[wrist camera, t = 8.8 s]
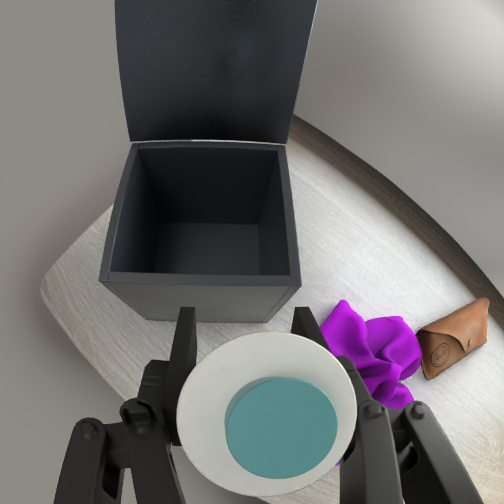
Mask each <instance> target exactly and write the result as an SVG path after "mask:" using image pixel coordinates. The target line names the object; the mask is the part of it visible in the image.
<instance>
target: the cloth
mask: <svg viewBox="0 0 504 504" xmlns="http://www.w3.org/2000/svg"><path fill="white" fill-rule="evenodd" d="M320 330H321V332H322V334H323V336H324V338H325V340H326V342H327V344H328V346H329V348H330V350H331V352H332V354H333V356H341V355H345V356H347V357H348V358H349V359H350V360H351V361H353V363H354V365H355V367H356V369H357V371H358V372H359V374H360V377H361V378H362V379H363V381H364V383H365V385H366V387H367V389H368V390H369V392H370V394H371V396H372V398H373V399H374V400H377V401H379V402H381V403H383V404H384V405H385V406H386V408H403V409H404V408H405V407H406V405H407V404H408V403H409V402H411V401H414V399H413V397H412V395H411V393H410V391H409V390H408V388H407V387H406V386H405V385H404V384H401V383H399V382H398V380H401V379H406V378H408V377H409V376H411V375H412V374H413V373H415V371H416V370H417V369H418V367H419V366H420V361H421V356H422V352H421V347H420V345H419V342H418V340H417V338H416V336H415V334H414V332H413V331H412V329H411V328H410V327H409V326H408V325H407V324H406V323H405V322H404V321H403V318H402V317H400V316H391V317H382V318H375V319H371V320H368V321H366V322H364V320H363V319H362V317H361V316H360V315H358V314H357V313H356V312H354V311H353V310H352V308H351V307H350V306H349V303H348V302H347V301H345V300H341V301H340V302H339V303H338V305H337V306H336V308H335V309H334V311H333V312H332V313H331V315H330V316H329V317H328V318H327V319H326V321H325V322H324V324H323V325H322V326H321V327H320ZM339 463H340V461H338V462H337V464H336V465H338V464H339ZM336 465H335V466H336Z"/></svg>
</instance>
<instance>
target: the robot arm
mask: <svg viewBox="0 0 504 504" xmlns="http://www.w3.org/2000/svg"><path fill="white" fill-rule="evenodd" d="M291 333H292V334H295V335H299V336H302V337H305V338H307V339H309V340H312V341H314V342H315V343H317V344H319V345H321V346H322V347H324V348H325V349H326V350H327V351H329V352H330V353H331V354H332V352H331V350H330V348H329V346H328V344H327V342H326V340H325V338H324V336H323V334H322V332H321V330H320V328H319V326H318V324H317V322H316V320H315V318H314V316H313V314H312V312H311V310H310V308H309V307H295V311H294V317H293V323H292V329H291ZM332 355H333V354H332ZM196 357H197V335H196V316H195V307H180V311H179V316H178V320H177V325H176V330H175V335H174V340H173V345H172V350H171V355H170V361H163V360H151V361H150V362H149V363H148V364H147V365H146V367H145V369H144V373H143V378H142V380H141V385H140V388H139V392H138V396H137V398H133V399H129V400H128V401H126V402H124V404H123V405H122V406H121V408H120V412H119V413H120V415H121V418H122V420H123V422H119V423H113V424H103V423H102V422H101V421H100V420H98V419H95V418H84V419H81V420H80V421H78V422H77V423H76V425H75V427H74V429H73V432H72V435H71V438H70V441H69V445H68V448H67V451H66V455H65V458H64V462H63V465H62V469H61V473H60V477H59V481H58V485H57V489H56V494H55V499H54V504H121V495H122V486H123V478H124V471H125V468H131V473H132V478H133V485H134V490H135V495H136V500H137V504H186V502H185V499H184V496H183V492H182V489H181V486H180V483H179V479H178V476H177V472H176V469H175V465H174V461H173V457H172V454H171V451H170V447H171V442H172V445H173V446H182V444H181V442H180V438H179V435H178V430H177V421H176V418H177V406H178V400H179V396H180V393H181V390H182V388H183V385H184V384H185V382H186V380H187V378H188V376H189V375H190V373H191V372H192V370H193V369H194V367H195V366H196ZM334 357H335V358H336V359H337V360H338V361H339V362H340V364H341V365H342V366H343V368H344V369H345V371H346V373H347V374H348V376H349V378H350V380H351V383H352V385H353V388H354V392H355V396H356V404H357V418H356V424H355V429H354V433H353V436H352V439H351V441H350V443H349V445H348V448H347V449H346V451H345V453H344V454H343V456H342V457H341V459H340V460H339V461H340V504H403V499H404V501H405V504H484V503H483V501H482V499H481V497H480V495H479V493H478V491H477V489H476V487H475V485H474V483H473V482H472V480H471V478H470V476H469V474H468V472H467V470H466V469H465V467H464V465H463V463H462V461H461V460H460V458H459V456H458V454H457V453H456V451H455V449H454V447H453V446H452V444H451V442H450V440H449V439H448V437H447V435H446V434H445V432H444V430H443V429H442V427H441V426H440V424H439V422H438V421H437V419H436V417H435V416H434V414H433V413H432V411H431V409H430V408H429V407H428V406H427V405H426V404H425V403H423V402H421V401H411V402H409V403H408V404H407V405H406V407H405V408H404V409H403V408H386V406H385V405H384V404H383V403H381V402H379V401H377V400H374V399H373V398H372V396H371V394H370V392H369V390H368V389H367V387H366V385H365V383H364V381H363V379H362V378H361V377H360V374H359V372H358V371H357V369H356V367H355V365H354V363H353V361H351V360H350V359H349V358H348V357H347V356H345V355H341V356H334ZM402 496H403V497H402Z"/></svg>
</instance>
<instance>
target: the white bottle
mask: <svg viewBox="0 0 504 504" xmlns="http://www.w3.org/2000/svg"><path fill="white" fill-rule="evenodd" d="M356 418H357V404H356V396H355V392H354V388H353V385H352V383H351V380H350V378H349V376H348V374H347V373H346V371H345V369H344V368H343V366H342V365H341V364H340V362H339V361H338V360H337V359H336V358H335V357H334V356H333V355H332V354H331V353H330V352H329V351H327V350H326V349H325V348H324V347H322V346H321V345H319V344H317V343H315V342H314V341H312V340H309V339H307V338H305V337H302V336H299V335H295V334H292V333H285V332H274V331H266V332H256V333H251V334H246V335H243V336H240V337H237V338H234V339H232V340H230V341H227V342H225V343H223V344H221V345H220V346H218V347H217V348H215V349H214V350H212V351H211V352H210V353H209V354H207V355H206V356H205V357H204V358H203V359H202V360H201V361H200V362H199V363H198V364H197V365H196V366H195V367H194V369H193V370H192V372H191V373H190V375H189V376H188V378H187V380H186V382H185V384H184V385H183V388H182V390H181V393H180V396H179V400H178V406H177V418H176V421H177V430H178V435H179V438H180V442H181V444H182V447H183V449H184V451H185V453H186V455H187V456H188V458H189V459H190V461H191V463H192V464H193V465H194V466H195V467H196V468H197V470H198V471H199V472H201V473H202V474H203V475H204V476H205V477H206V478H207V479H209V480H211V481H212V482H214V483H215V484H217V485H218V486H221V487H223V488H225V489H227V490H229V491H232V492H235V493H239V494H243V495H248V496H258V497H268V496H278V495H284V494H288V493H291V492H295V491H298V490H300V489H302V488H305V487H307V486H309V485H311V484H312V483H314V482H316V481H317V480H319V479H320V478H321V477H323V476H324V475H325V474H327V473H328V472H329V471H330V470H331V469H332V468H333V467H334V466H335V465H336V464H337V462H338V461H339V460H340V459H341V457H342V456H343V454H344V453H345V451H346V449H347V448H348V445H349V443H350V441H351V439H352V436H353V433H354V429H355V424H356Z"/></svg>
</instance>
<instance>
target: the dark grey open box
mask: <svg viewBox="0 0 504 504" xmlns="http://www.w3.org/2000/svg"><path fill="white" fill-rule="evenodd" d="M99 282H101V283H102V284H103V285H104V286H105V287H106V288H108V289H109V290H110V291H111V292H112V293H114V294H115V295H116V296H117V297H118V298H120V299H121V300H122V301H123V302H124V303H126V304H127V305H128V306H129V307H131V308H132V309H133V310H134V311H136V312H137V313H138V314H140V315H141V316H142V317H143V318H145V319H146V320H157V321H177V320H178V316H179V311H180V307H195V316H196V322H213V323H265V322H268V321H269V320H270V319H271V318H272V317H273V316H274V315H275V314H276V313H277V312H278V311H279V310H280V309H281V308H282V306H283V305H284V304H285V303H286V302H287V301H288V300H289V299H290V298H291V297H292V296H293V295H294V294H295V292H296V291H297V290H298V289H299V288H300V287H301V286H302V282H301V272H300V261H299V251H298V242H297V233H296V224H295V216H294V207H293V199H292V192H291V184H290V177H289V170H288V163H287V156H286V149H285V146H283V145H271V144H258V143H240V142H209V141H177V142H146V143H133V144H132V146H131V149H130V152H129V155H128V158H127V161H126V164H125V167H124V171H123V174H122V177H121V180H120V184H119V188H118V191H117V195H116V199H115V202H114V206H113V210H112V215H111V219H110V223H109V228H108V232H107V237H106V242H105V247H104V252H103V258H102V263H101V269H100V276H99Z"/></svg>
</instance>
